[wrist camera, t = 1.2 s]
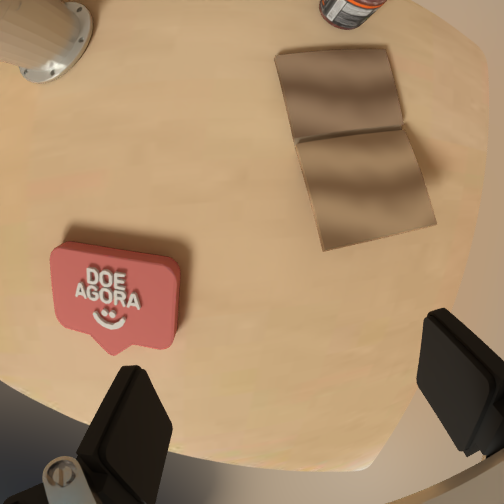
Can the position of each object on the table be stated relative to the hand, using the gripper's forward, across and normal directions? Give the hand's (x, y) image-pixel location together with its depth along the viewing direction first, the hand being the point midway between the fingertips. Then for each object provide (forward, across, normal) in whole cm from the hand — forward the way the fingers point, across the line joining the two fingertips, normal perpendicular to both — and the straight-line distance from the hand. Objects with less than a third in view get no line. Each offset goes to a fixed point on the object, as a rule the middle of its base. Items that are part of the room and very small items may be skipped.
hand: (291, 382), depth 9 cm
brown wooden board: (+28, -12, -14) cm, 33 cm away
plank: (+25, -13, -2) cm, 28 cm away
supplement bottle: (+27, -15, -25) cm, 40 cm away
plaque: (+28, +21, +7) cm, 36 cm away
